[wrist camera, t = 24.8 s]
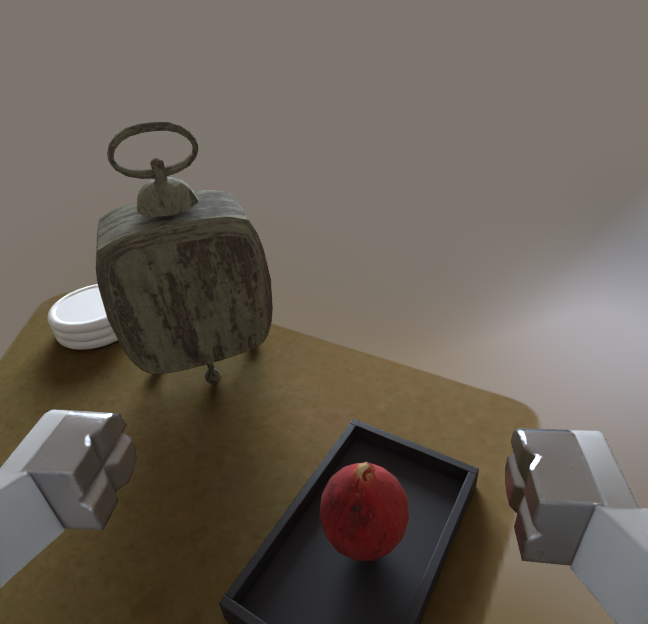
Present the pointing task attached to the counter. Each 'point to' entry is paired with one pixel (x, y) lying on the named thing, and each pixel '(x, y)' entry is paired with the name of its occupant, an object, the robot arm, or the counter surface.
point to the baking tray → (343, 572)
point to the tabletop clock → (181, 270)
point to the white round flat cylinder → (81, 320)
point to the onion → (364, 511)
